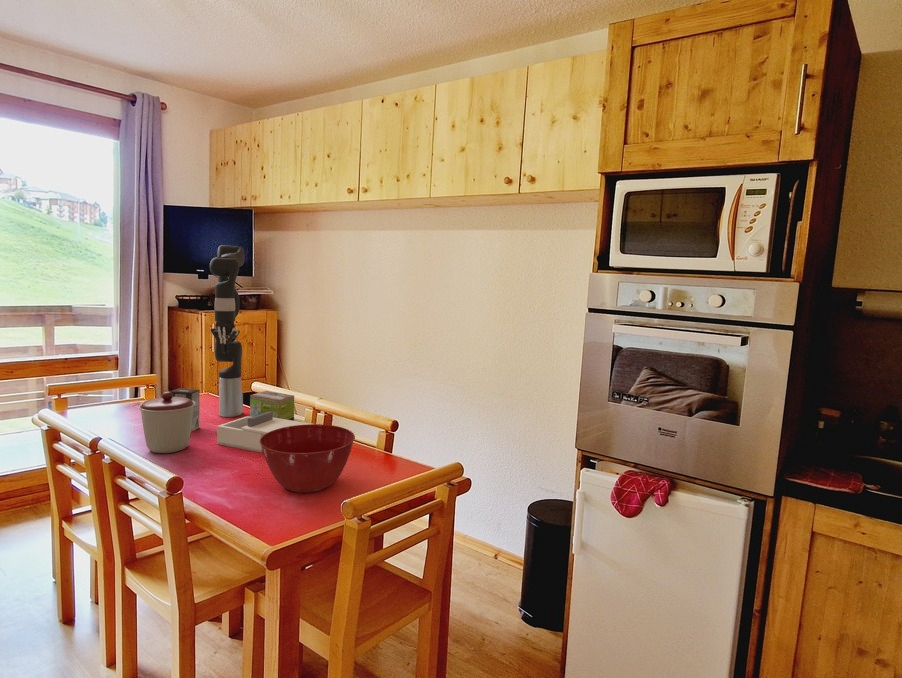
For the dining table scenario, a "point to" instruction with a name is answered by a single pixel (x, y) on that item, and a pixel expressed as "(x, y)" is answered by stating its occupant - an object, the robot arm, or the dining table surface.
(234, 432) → the box
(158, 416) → the canister
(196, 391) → the coffee box
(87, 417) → the dining table surface
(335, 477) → the mixing bowl
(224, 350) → the robot arm
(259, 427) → the lid
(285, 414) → the tea box
